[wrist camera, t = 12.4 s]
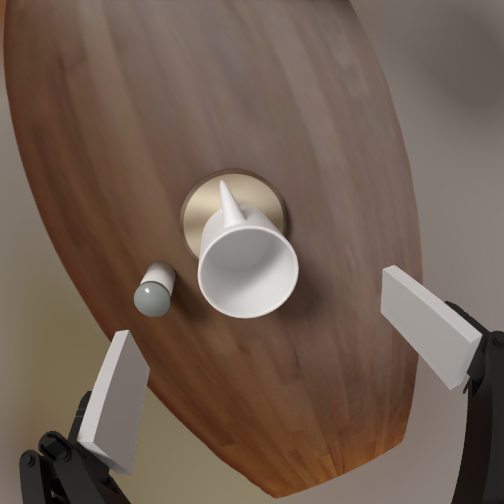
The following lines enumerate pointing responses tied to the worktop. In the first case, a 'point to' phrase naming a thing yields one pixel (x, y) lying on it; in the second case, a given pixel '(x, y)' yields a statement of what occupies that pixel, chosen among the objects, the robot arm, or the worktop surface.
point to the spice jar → (155, 290)
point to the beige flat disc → (208, 203)
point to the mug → (244, 261)
